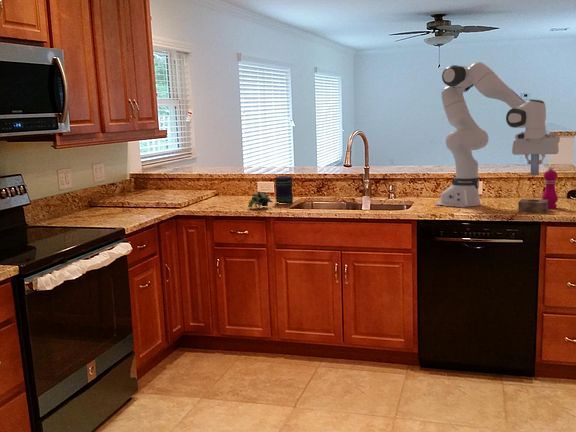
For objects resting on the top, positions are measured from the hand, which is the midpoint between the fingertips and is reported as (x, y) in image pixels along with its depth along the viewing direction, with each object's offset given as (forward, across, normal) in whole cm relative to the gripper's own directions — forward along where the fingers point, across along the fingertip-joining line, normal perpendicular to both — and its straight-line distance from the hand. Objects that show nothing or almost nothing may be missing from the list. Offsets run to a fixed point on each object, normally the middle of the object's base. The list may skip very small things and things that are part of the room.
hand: (534, 164), depth 283 cm
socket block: (+22, 0, 0) cm, 23 cm away
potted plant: (+21, +136, +28) cm, 141 cm away
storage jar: (+21, +133, +7) cm, 135 cm away
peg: (+5, 0, 0) cm, 5 cm away
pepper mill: (+23, -6, -12) cm, 26 cm away
